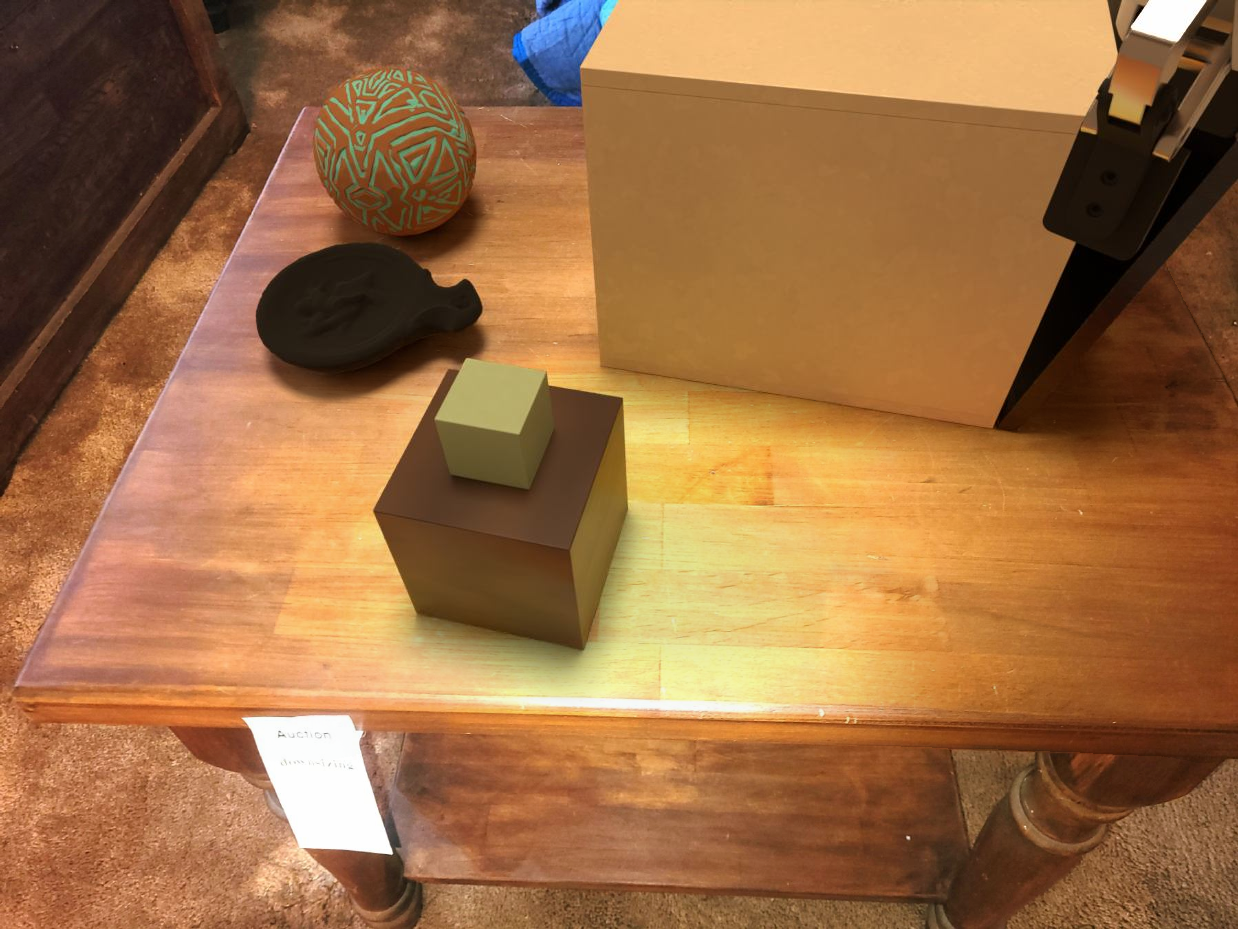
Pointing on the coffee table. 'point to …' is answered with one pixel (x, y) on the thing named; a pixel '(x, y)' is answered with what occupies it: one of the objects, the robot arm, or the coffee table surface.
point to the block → (496, 423)
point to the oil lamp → (357, 307)
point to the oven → (835, 191)
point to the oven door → (1116, 272)
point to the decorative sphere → (394, 151)
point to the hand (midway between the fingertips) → (1143, 178)
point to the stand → (513, 525)
